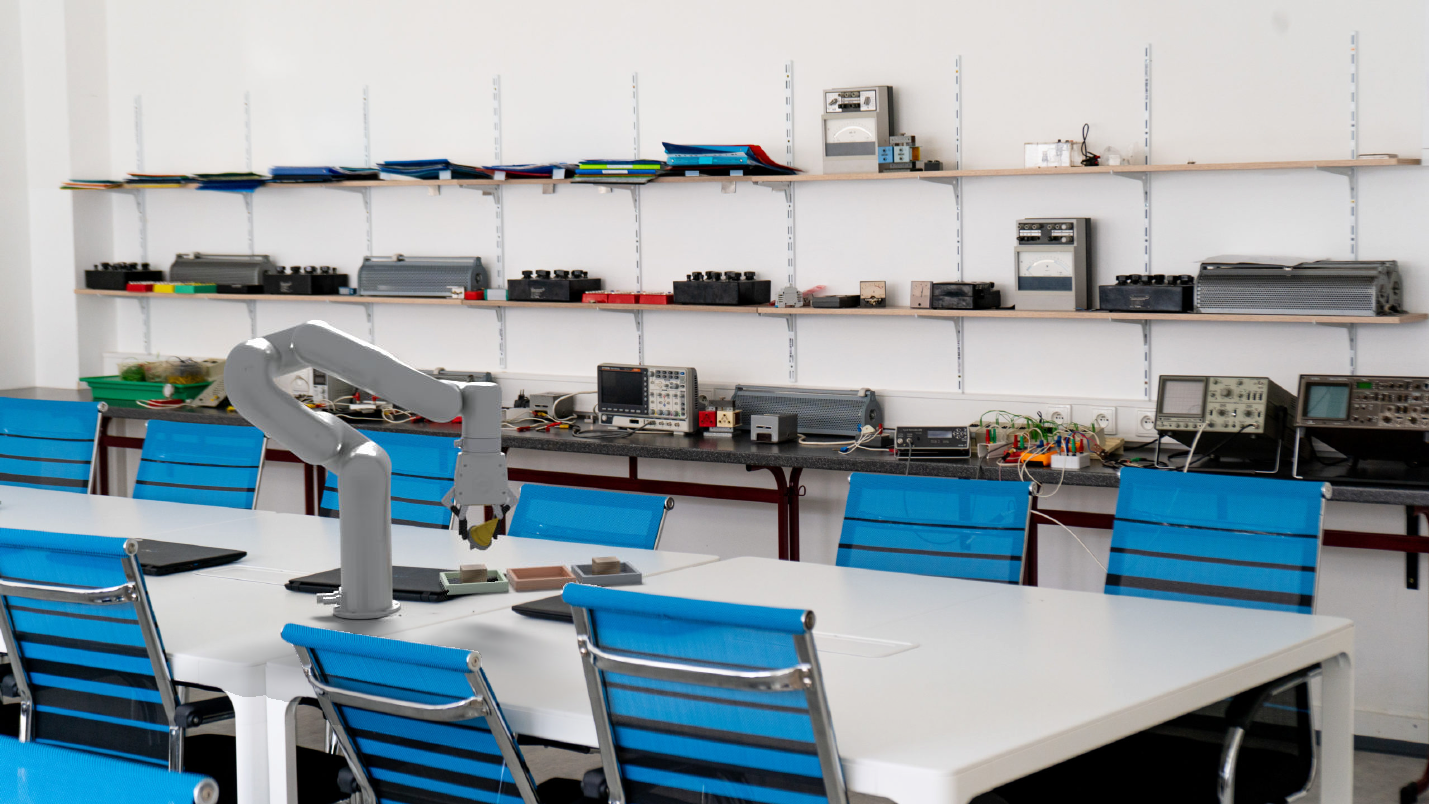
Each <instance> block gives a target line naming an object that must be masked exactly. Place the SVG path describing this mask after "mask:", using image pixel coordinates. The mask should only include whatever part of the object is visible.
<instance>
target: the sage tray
mask: <svg viewBox="0 0 1429 804" xmlns="http://www.w3.org/2000/svg"><path fill="white" fill-rule="evenodd" d="M487 576H497V579H498V581H495V582H480V583H464V584H449V582H448V580H447V579H453V578H460V570H458V571H444V572H443V571H442V572H439V581H440V580H441V582H442V584H443V585H444V587H445V589H446V590H447V589H448V590H449V592H448V593H447V595H446V596H451V595H452V596H453V595H454V596H455V595H467V594H468V595H469V594H481V593H482V594H483V593H499V592H501V593H502V592H509V590H510V587H509V584H510V582H509V581H508V579H507V578H506V576H505V574H504V572H503V571H502V570H501V569H500V568H498V569H497V568H496V569H495V568H494V569H487Z"/></svg>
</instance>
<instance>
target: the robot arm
mask: <svg viewBox="0 0 1429 804" xmlns="http://www.w3.org/2000/svg"><path fill="white" fill-rule="evenodd" d="M308 368H311V369H314V370H316V371H319V372H320V373H323V374H326V375H328V376H331V377H333V378H335V379H338V380H340V381H342V382H344V383H347V384H348V385H351V386H353V387H356V388H358V389H360V390H362V391H365V392H367V393H369V394H370V395H373V396H374V397H377V398H380V399H383V400H385V401H388V402H390V403H392V404H394V405H395V406H398V407H400V408H402V409H405V410H407V411H410V412H411V413H414V414H416V415H417V416H418V415H419V416H420V417H423V418H425V419H428V420H430V421H432V422H435V423H448V422H451V421H452V420H455V419H456V418H457V417H461V420H462V421H461V436H460V437H459V438H460V439H455V440H454V441H453V446H454V447H453V448H458V449H460V452H458V454H457V457H456V463H455V469H454V478H453V486H452V487H451V488H450V489H449V490H448V491H447V492H446V494H444V496H443V498H442V499H441V500H440V501H441V504H442V505H444V506H445V507H446V508H447V509H448V510H450V511H451V513H453V514H454V516H456V517H457V518H458V536H461V540H462V541H468V540H467V530H468V519H467V516H466V515H467V513H468V509H469V506H471V507H472V506H474V507H475V506H479V507H480V506H482V507H483V506H492V507H491V508H492V509H493V517H491V520H493V519H495V518H499V519H498V522H497V523H496V524H497V525H496V528H495V530H494V533H493V536H492V540H498V538H499V537H498V536H499V535H501V534H502V533H501V531H502V527H501V525H502V519H503V517H504V516H505V515H506V514H507V513H509V511H511V509H512V508H514V507H515V506H516V505H517V504H519V502H520V500H519V498H518V497H517V496H516V495H515V494H514V492H513V491H512V490H511V489H510V488H509V485H508V484H509V479H508V465H507V458H506V453H504V452H502V420H503V418H502V414H503V413H502V412H503V411H502V410H503V409H502V406H503V390H502V387H501V386H500V385H499V384H498V383H495V382H488V381H473V382H460V381H453V380H447V379H437V378H434V377H433V376H430V375H428V374H426V373H423V372H421V371H419V370H417V369H415V368H413V367H410V365H408V364H405V363H403V362H402V361H400V360H399V359H397V358H396V357H395V356H393V355H392V354H391V353H389V352H388V351H386V350H384V349H383V348H380V347H379V346H376V345H373V344H371V343H369V342H367V341H364V340H361V339H359V338H357V337H355V336H353V335H350V334H348V333H345V332H344V331H341V330H339V329H337V328H335V327H334V326H332V325H331V324H329V323H328V322H326V321H323V320H319V319H317V320H316V319H312V320H308V321H304V322H303V323H301V324H298V325H295V326H292V327H289V328H286V329H282V330H279V331H275V332H273V333H269V334H265V335H262V336H260V337H255V338H252V339H248V340H244V341H242V342H240V343H238V344H236V346H234V347H233V348H232V349H231V350H230V351H229V353H228V355H227V357H226V360H225V363H224V367H223V386H224V391H225V393H226V396H227V398H228V400H229V403H230V404H231V406H232V407H233V408H234V409H235V410H236V412H237V413H238V414H239V415H240V416H241V417H242V418H243V419H245V420H246V421H248V422H249V423H251V424H252V425H253V426H255V427H256V428H257V429H259V430H260V431H261V432H263V433H264V434H266V435H267V436H268V437H269V438H271V439H272V440H274V441H275V442H277V443H278V444H280V445H281V446H282V447H284V448H285V449H286V450H288V451H290V452H291V453H293V454H294V455H295V456H296V457H298V458H299V459H300V460H302V461H303V462H304V463H306V464H307V463H308V464H309V465H313V466H314V465H315V466H316V465H317V466H318V465H319V466H322V467H324V468H325V469H326V470H328V471H330V472H331V473H333V474H334V475H336V476H337V491H338V492H337V493H338V508H339V509H338V510H339V543H340V544H339V546H340V547H339V548H340V551H339V552H340V586H339V587H338V590H334V591H333V593H326V592H322V593H316V604H317V605H318V604H320V605H321V604H322V605H323V606H330V605H334V606H333V608H332V610H333V611H332V614H333V615H334V616H336V617H338V618H342V619H349V620H370V619H378V618H379V619H380V618H385V617H388V616H391V614H394V613H396V612H398V611H400V610H401V609H402V604H401V603H400V602H399V601H398V600H395V599H393V558H392V557H393V555H392V554H393V553H392V552H393V550H392V549H393V545H392V543H393V542H392V508H391V507H392V505H391V503H392V502H391V501H392V500H391V499H392V498H391V496H392V494H391V488H392V487H391V486H392V485H391V481H392V477H391V476H392V461H391V458H390V456H389V454H388V453H387V451H386V450H385V449H384V448H383V447H381V446H380V445H379V444H377V442H374V441H373V440H372V439H370V438H369V437H367V436H366V435H365V434H363V433H361V432H360V431H359V430H358V429H356V428H354V427H353V426H351V425H350V424H348V423H347V422H346V421H345V420H343V419H341V418H340V417H338V416H336V415H334V414H333V413H330V412H326V411H315V410H313V409H311V408H309V407H308V406H307V405H306V404H304V403H302V402H301V401H300V400H298V399H297V398H295V397H294V396H293V395H291V394H290V393H288V392H287V391H285V390H283V389H282V388H280V387H279V386H278V385H277V384H276V383H275V381H274V379H277V378H280V377H283V376H286V375H290V374H294V373H296V372H299V371H302V370H305V369H308ZM453 498H454V501H455V502H456V503H457V504H458V505H459V508H458V507H457V506H456V505H455V504H454V503H453V502H452V499H453ZM501 505H502V506H501Z"/></svg>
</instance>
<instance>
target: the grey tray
mask: <svg viewBox="0 0 1429 804" xmlns="http://www.w3.org/2000/svg"><path fill="white" fill-rule="evenodd" d="M570 571H571V572H572V574H573V575H574V576H575V577H576V582H578V583H579V584H580V583H582V584H591V585H597V586H608V585H607V584H612V585H624V584H641V583H643V573H642V572H641V571H640V570H638V569H637V567H635V566H634V565H632V564H631V563H630V562H629V561H620V574H612V575H595V576H592V563H580V564H579V563H578V564H571V565H570Z"/></svg>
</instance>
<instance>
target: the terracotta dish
mask: <svg viewBox="0 0 1429 804" xmlns="http://www.w3.org/2000/svg"><path fill="white" fill-rule="evenodd" d="M505 570H506V572H505V573H506V574H505V575H506V576H505V577H506V579H507V580H508V582H509V584H510V585H511V586H512V588H513V589H514V591H516V592H517V591H530V590H531V591H533V590H546V589H548V590H549V589H562V588H563V586H564V585H565V584H566V583H569V582H574V583H576V584H577V579H576V577H575V576H574V575H573V574H572V572H571V569H569V568H568V567H567V566H566V564H565V565H562V564H561V565H546V566H531V567H530V566H529V567H512V568H506V569H505Z"/></svg>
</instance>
